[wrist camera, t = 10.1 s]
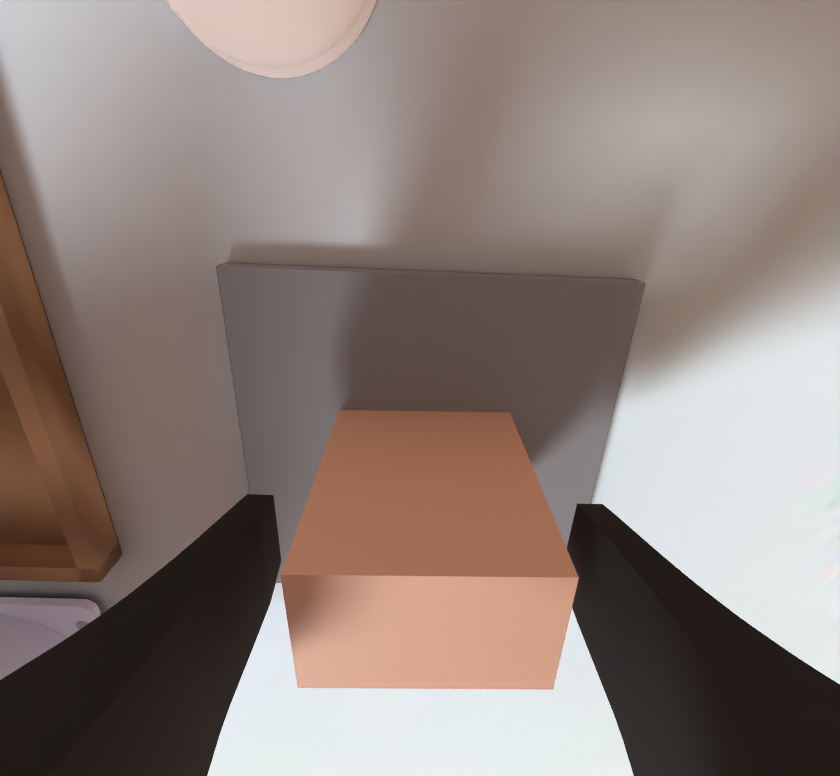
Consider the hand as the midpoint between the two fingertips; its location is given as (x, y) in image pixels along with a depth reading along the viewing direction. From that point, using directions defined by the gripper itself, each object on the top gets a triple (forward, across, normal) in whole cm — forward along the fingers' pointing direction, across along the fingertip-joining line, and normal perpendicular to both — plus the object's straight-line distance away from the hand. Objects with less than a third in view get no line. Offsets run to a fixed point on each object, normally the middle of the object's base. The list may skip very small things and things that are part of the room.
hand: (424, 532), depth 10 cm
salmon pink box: (+3, 0, 0) cm, 3 cm away
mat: (+4, 0, 0) cm, 4 cm away
